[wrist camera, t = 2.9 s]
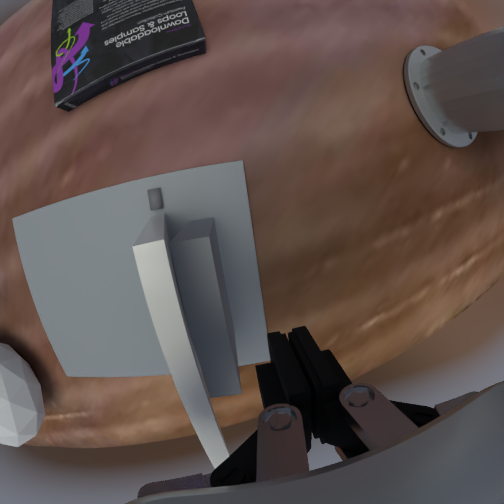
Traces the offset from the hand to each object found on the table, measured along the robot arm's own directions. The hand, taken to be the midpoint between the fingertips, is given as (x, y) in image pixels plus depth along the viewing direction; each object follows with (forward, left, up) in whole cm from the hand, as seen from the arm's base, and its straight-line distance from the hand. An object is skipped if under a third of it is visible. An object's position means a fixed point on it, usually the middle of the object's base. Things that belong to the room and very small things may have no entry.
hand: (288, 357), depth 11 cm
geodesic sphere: (+33, +9, -13) cm, 36 cm away
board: (+11, 0, -13) cm, 17 cm away
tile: (+5, 0, -5) cm, 7 cm away
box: (+10, -28, -14) cm, 33 cm away
